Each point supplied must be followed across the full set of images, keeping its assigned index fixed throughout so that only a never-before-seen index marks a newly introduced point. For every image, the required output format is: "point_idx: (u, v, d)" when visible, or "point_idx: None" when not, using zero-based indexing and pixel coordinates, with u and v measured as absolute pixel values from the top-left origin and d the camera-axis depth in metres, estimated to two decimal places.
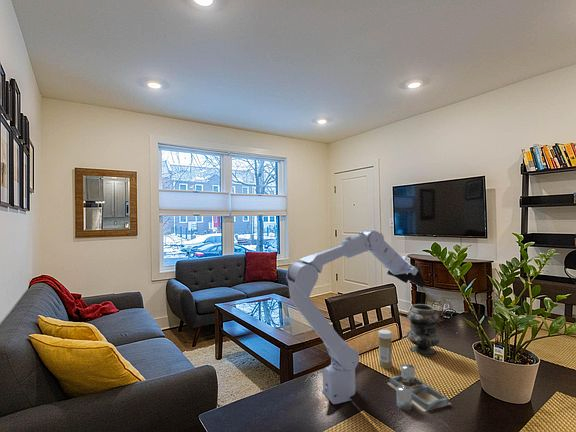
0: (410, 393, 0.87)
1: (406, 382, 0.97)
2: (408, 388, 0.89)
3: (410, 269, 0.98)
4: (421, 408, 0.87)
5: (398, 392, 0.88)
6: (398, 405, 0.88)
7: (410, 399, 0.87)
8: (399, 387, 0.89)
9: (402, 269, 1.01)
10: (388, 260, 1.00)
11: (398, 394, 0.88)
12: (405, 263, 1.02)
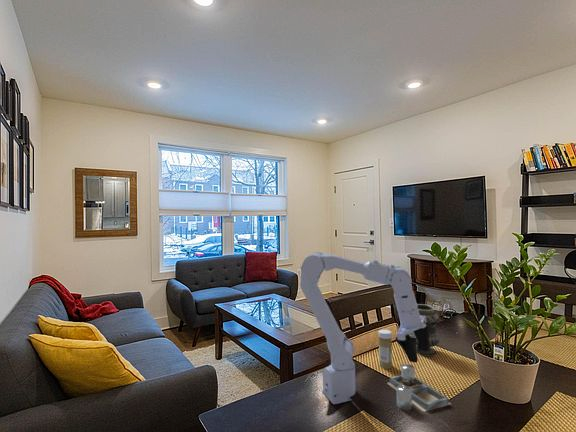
0: (410, 393, 0.87)
1: (406, 382, 0.97)
2: (408, 388, 0.89)
3: (401, 332, 0.88)
4: (421, 408, 0.87)
5: (398, 392, 0.88)
6: (398, 405, 0.88)
7: (410, 399, 0.87)
8: (399, 387, 0.89)
9: (404, 328, 0.90)
10: (401, 308, 0.90)
11: (398, 394, 0.88)
12: (411, 327, 0.89)
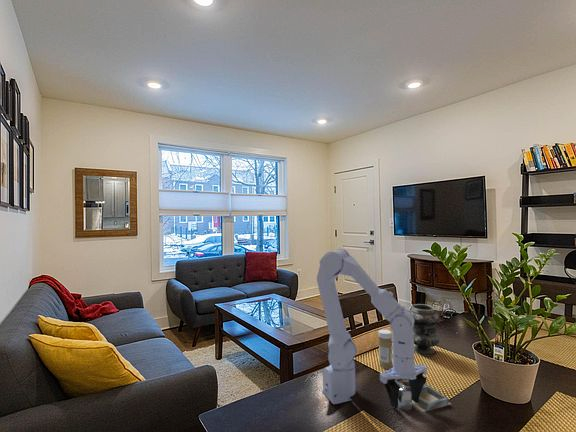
0: (410, 393, 0.87)
1: (406, 382, 0.97)
2: (408, 388, 0.89)
3: None
4: (421, 408, 0.87)
5: None
6: (398, 405, 0.88)
7: (410, 399, 0.87)
8: None
9: (393, 371, 0.89)
10: (395, 352, 0.88)
11: (398, 394, 0.88)
12: (399, 374, 0.86)
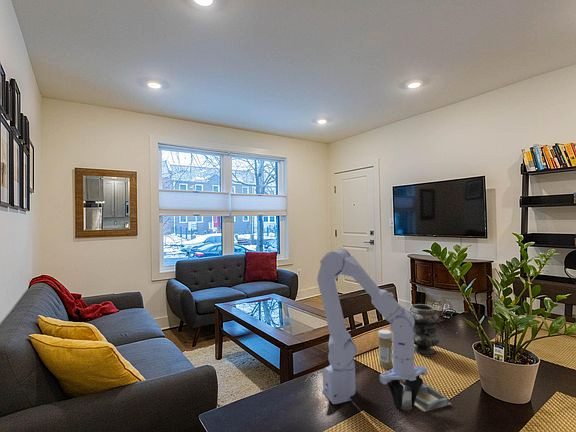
0: (410, 393, 0.87)
1: None
2: (408, 388, 0.89)
3: None
4: (421, 408, 0.87)
5: None
6: None
7: (410, 399, 0.87)
8: None
9: (393, 372, 0.89)
10: (395, 353, 0.88)
11: None
12: (399, 375, 0.86)
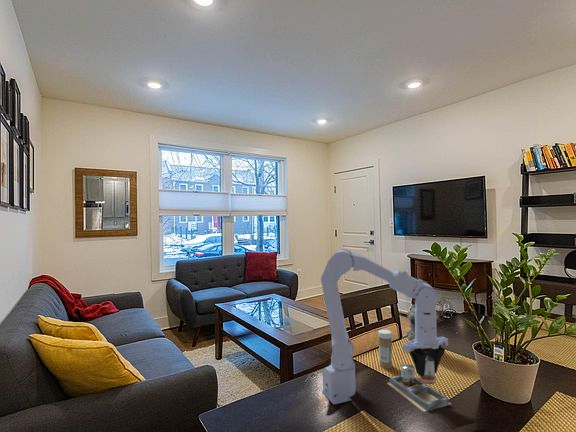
0: (433, 363, 0.89)
1: (406, 382, 0.97)
2: (431, 358, 0.91)
3: None
4: (421, 408, 0.87)
5: None
6: None
7: (433, 369, 0.90)
8: None
9: (415, 342, 0.91)
10: (420, 324, 0.90)
11: None
12: (422, 344, 0.89)
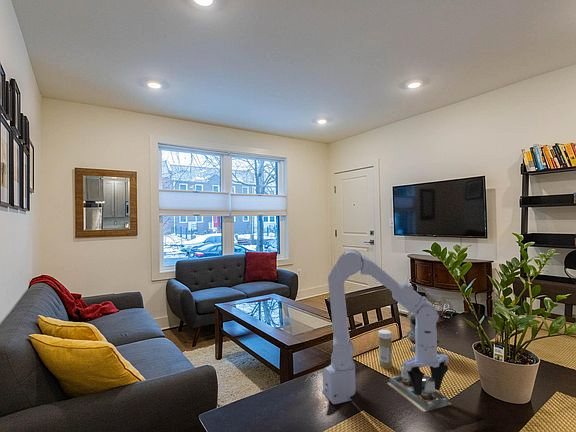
0: (433, 384, 0.89)
1: (406, 382, 0.97)
2: (431, 379, 0.91)
3: None
4: (421, 408, 0.87)
5: None
6: (421, 395, 0.90)
7: (433, 389, 0.89)
8: None
9: (416, 359, 0.91)
10: (421, 342, 0.90)
11: None
12: (422, 362, 0.89)
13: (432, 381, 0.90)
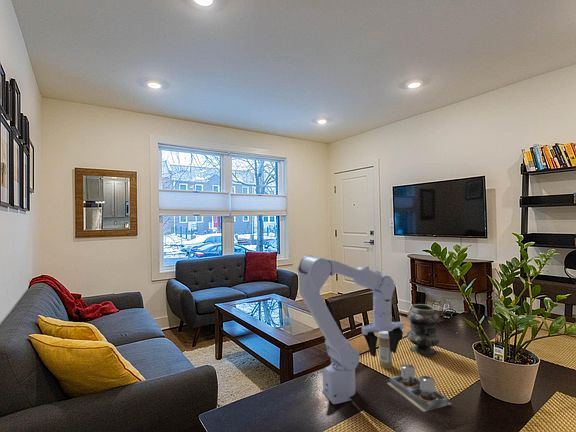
0: (433, 383, 0.89)
1: (406, 382, 0.97)
2: (431, 379, 0.91)
3: None
4: (421, 408, 0.87)
5: (421, 382, 0.90)
6: (421, 395, 0.90)
7: (433, 389, 0.90)
8: (422, 378, 0.92)
9: (373, 325, 1.03)
10: (382, 310, 1.00)
11: (421, 384, 0.90)
12: (378, 327, 1.01)
13: (432, 381, 0.90)
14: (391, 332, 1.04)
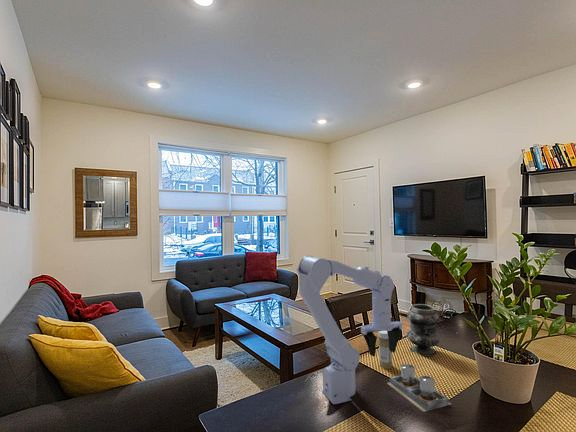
0: (433, 384, 0.89)
1: (406, 382, 0.97)
2: (431, 379, 0.91)
3: None
4: (421, 408, 0.87)
5: (421, 382, 0.90)
6: (421, 395, 0.90)
7: (433, 389, 0.90)
8: (422, 378, 0.92)
9: (372, 325, 1.03)
10: (381, 310, 1.00)
11: (421, 384, 0.90)
12: (377, 327, 1.01)
13: (432, 381, 0.90)
14: (390, 332, 1.05)
